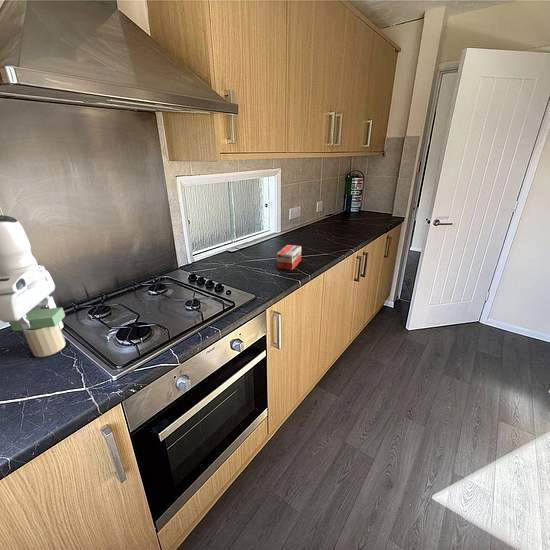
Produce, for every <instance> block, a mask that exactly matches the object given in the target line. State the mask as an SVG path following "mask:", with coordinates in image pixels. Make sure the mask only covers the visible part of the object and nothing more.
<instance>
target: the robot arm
mask: <svg viewBox="0 0 550 550" xmlns="http://www.w3.org/2000/svg"><path fill="white" fill-rule="evenodd" d="M55 289H56V285H55V282H54V280H53V277H52V276H51V273H50V272H49V271H48V270H47V269H46V268H45V266H44V265H42V264H40V263H38V261H37V259H36V258H35V256H34V255H33V253H32V245H31V243H30V240H29V238H28V236H27V233H26V231H25V229H24V227H23V225H22V224H21V223H20V221H18V219H16V218H15V217H12V216H9V215H2V214H0V321H1V322H3V323H9V322H14V321H16V322H18V323H20V324H21V326H22V328H23V329H29V328H30V327H31V326H32V325H33V324H32V322H31V320H29V321H28V320H27V319H26V317H27V316H26V314H27V313H28V312H29V311H30V310H31V309H33V308H34V307H35V306H36V305H37V304H38V303H40V302H41V307H40V308H41V309H50V305H49V300H50V297H51V296H50V295H51V294H52V293H53V292H54V291H55Z"/></svg>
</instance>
